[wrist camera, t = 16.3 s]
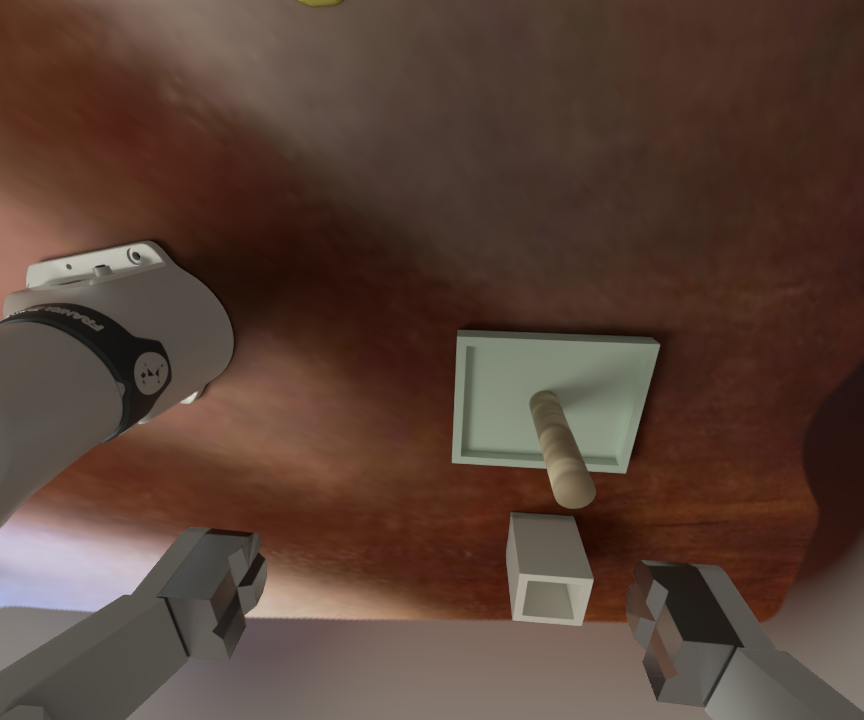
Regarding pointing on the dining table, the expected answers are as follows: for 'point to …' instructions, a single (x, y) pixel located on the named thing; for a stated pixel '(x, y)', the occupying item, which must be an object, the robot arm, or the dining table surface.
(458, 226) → the dining table surface
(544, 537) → the cup
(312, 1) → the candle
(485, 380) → the tray
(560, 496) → the dowel
